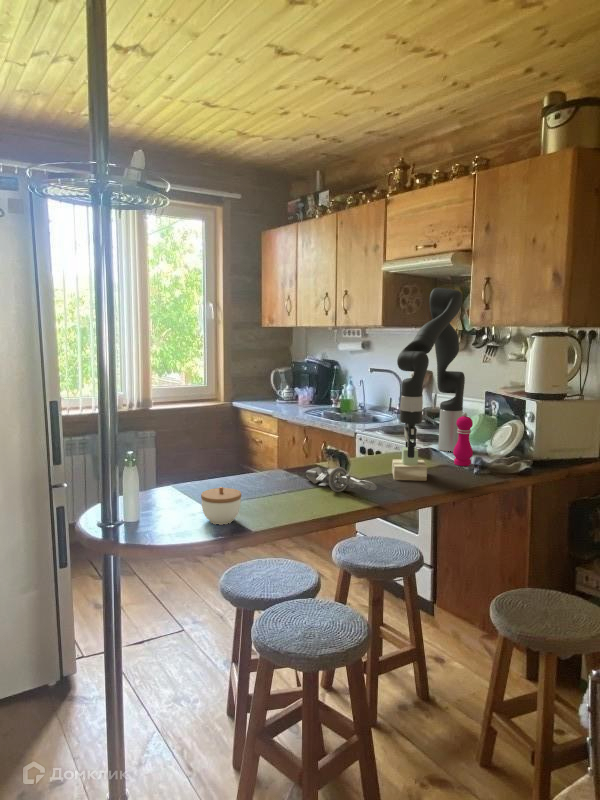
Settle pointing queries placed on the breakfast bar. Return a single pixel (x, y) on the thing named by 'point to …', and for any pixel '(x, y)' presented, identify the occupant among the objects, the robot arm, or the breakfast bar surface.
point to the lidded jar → (221, 504)
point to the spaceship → (337, 479)
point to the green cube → (409, 460)
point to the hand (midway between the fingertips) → (409, 454)
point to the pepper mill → (463, 441)
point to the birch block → (409, 470)
